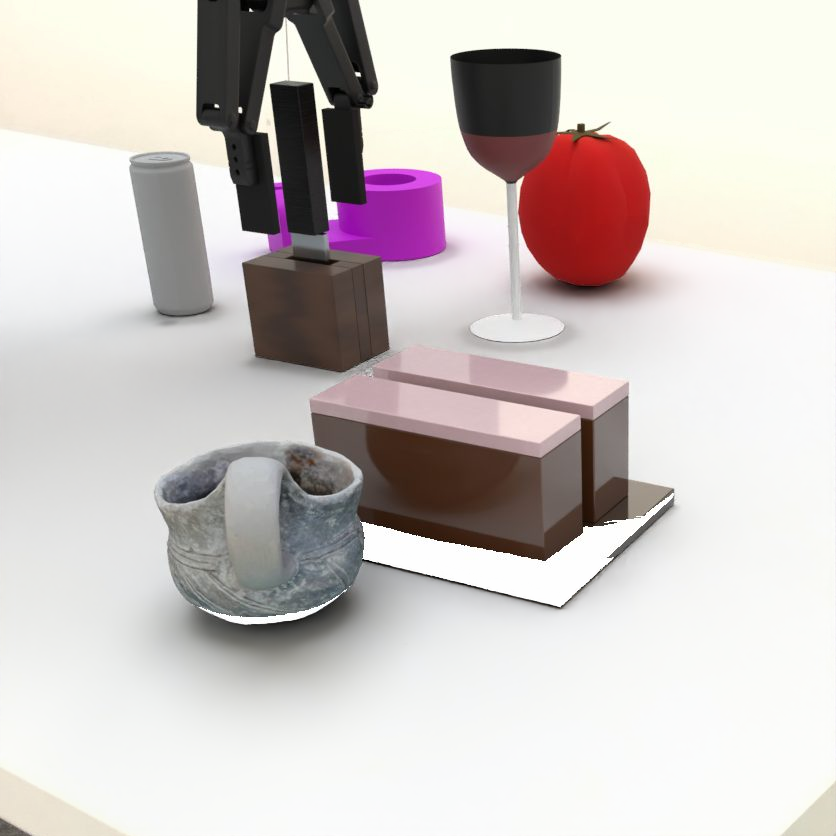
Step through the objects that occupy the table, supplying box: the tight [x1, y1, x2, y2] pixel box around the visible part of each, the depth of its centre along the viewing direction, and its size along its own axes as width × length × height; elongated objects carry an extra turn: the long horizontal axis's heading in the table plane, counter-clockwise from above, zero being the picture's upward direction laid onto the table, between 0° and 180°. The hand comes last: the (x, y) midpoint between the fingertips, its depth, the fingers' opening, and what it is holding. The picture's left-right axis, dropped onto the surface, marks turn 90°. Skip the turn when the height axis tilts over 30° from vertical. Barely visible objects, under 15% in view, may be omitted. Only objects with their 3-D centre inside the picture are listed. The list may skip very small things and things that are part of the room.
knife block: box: [241, 245, 390, 373], centre depth 99 cm, size 8×6×7 cm
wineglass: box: [449, 47, 565, 343], centre depth 101 cm, size 8×9×20 cm
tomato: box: [517, 121, 651, 287], centre depth 114 cm, size 12×12×13 cm
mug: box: [153, 439, 365, 617], centre depth 63 cm, size 10×12×10 cm
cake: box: [308, 344, 675, 561], centre depth 74 cm, size 18×14×8 cm
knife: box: [269, 79, 331, 265], centre depth 96 cm, size 3×2×19 cm, turn 65°
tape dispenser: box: [266, 168, 447, 262], centre depth 125 cm, size 16×10×6 cm, turn 114°
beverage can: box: [128, 150, 215, 317], centre depth 107 cm, size 5×5×12 cm
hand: (307, 216), depth 96 cm, fingers open, 9 cm apart
